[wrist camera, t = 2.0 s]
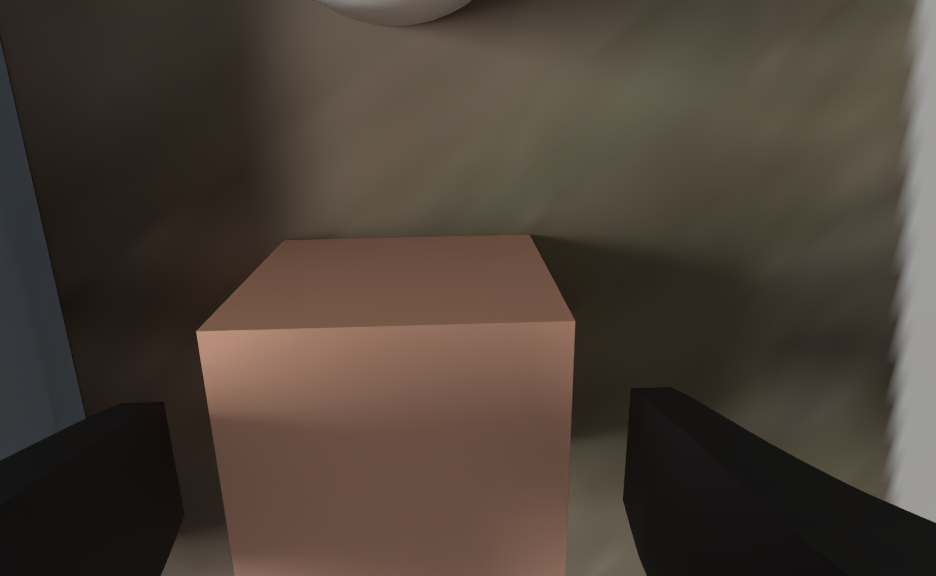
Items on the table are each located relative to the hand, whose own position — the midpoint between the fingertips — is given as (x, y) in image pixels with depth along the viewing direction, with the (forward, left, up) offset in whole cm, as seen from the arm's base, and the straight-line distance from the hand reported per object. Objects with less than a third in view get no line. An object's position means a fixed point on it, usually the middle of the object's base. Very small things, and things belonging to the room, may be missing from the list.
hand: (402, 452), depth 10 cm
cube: (0, 0, -4) cm, 4 cm away
